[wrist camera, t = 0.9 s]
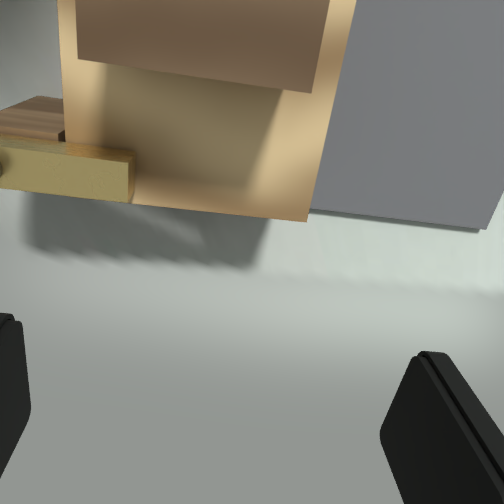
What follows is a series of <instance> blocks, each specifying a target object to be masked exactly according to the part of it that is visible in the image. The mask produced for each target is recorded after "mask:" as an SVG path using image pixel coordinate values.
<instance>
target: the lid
mask: <svg viewBox="0 0 504 504" xmlns="http://www.w3.org/2000/svg"><path fill="white" fill-rule="evenodd" d="M355 5H356V0H57V7H58V24H59V40H60V57H61V73H62V90H63V106H64V123H65V139H66V142H68V143H75V144H83V145H91V146H98V147H106V148H113V149H121V150H128V151H136V167H135V190H134V192H133V193H132V195H131V197H130V199H129V201H128V203H132V204H141V205H151V206H160V207H169V208H178V209H187V210H197V211H206V212H215V213H224V214H234V215H243V216H252V217H261V218H271V219H280V220H289V221H298V222H307V218H308V214H309V209H310V205H311V200H312V196H313V191H314V187H315V182H316V178H317V174H318V169H319V165H320V160H321V156H322V151H323V147H324V142H325V138H326V134H327V129H328V125H329V120H330V116H331V111H332V107H333V102H334V98H335V94H336V89H337V85H338V80H339V76H340V71H341V67H342V62H343V58H344V54H345V49H346V45H347V40H348V36H349V31H350V27H351V23H352V18H353V14H354V9H355ZM69 197H72V196H69ZM77 198H81V197H77ZM86 199H89V198H86ZM95 200H98V199H95ZM104 201H106V200H104ZM114 202H115V201H114Z"/></svg>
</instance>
